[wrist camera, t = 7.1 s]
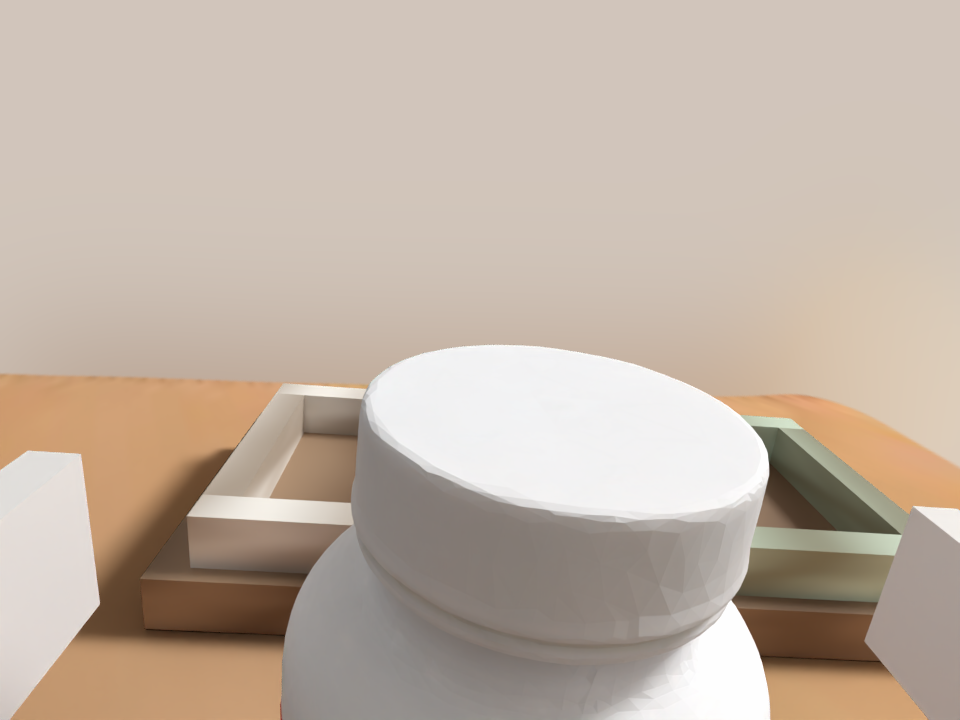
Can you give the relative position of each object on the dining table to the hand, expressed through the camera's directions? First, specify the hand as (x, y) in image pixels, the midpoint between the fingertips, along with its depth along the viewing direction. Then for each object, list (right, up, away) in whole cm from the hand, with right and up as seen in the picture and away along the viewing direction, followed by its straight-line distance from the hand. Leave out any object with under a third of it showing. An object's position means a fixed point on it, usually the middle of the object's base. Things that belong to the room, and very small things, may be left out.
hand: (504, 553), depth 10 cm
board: (+2, -3, +11) cm, 12 cm away
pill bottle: (-1, -7, -1) cm, 7 cm away
